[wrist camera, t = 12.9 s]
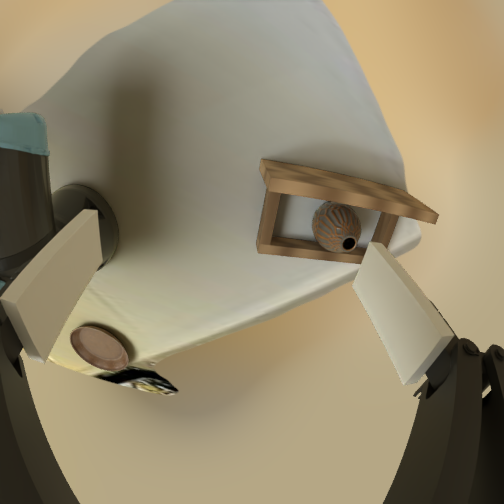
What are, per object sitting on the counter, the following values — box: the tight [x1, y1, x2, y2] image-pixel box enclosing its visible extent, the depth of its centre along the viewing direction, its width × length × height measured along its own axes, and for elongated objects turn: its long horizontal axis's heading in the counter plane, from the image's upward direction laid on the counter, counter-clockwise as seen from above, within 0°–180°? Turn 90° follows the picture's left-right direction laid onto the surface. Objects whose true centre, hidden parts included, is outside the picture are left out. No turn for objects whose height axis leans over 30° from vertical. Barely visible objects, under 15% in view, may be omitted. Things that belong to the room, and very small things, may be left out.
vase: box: [312, 202, 361, 253], centre depth 38 cm, size 7×7×9 cm
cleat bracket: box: [256, 159, 439, 264], centre depth 37 cm, size 24×13×10 cm, turn 81°
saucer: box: [70, 326, 129, 371], centre depth 52 cm, size 15×15×3 cm
